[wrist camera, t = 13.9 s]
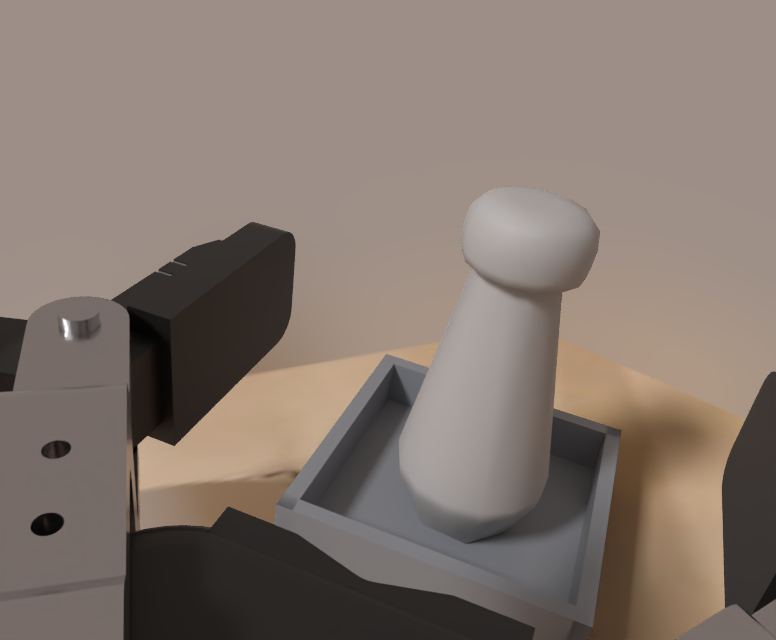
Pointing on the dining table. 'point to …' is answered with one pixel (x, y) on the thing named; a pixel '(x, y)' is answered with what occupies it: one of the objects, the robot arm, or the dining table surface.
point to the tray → (440, 552)
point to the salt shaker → (497, 366)
